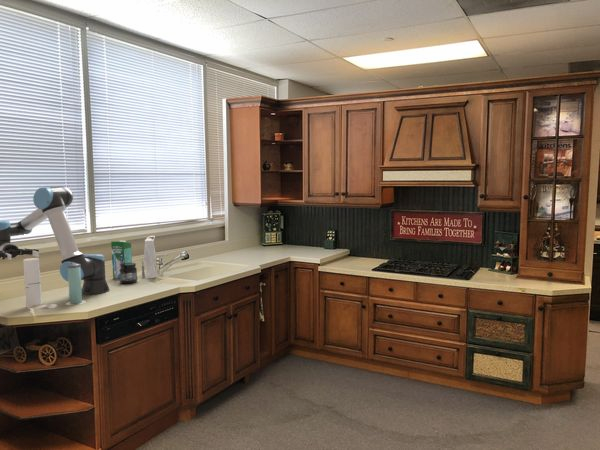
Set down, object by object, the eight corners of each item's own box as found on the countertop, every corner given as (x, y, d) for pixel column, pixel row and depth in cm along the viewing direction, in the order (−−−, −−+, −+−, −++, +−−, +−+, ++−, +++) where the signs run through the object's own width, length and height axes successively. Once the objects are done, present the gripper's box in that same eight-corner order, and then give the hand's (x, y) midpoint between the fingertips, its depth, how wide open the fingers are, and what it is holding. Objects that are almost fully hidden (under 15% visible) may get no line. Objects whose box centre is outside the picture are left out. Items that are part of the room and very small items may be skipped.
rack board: (84, 301, 265) (84, 298, 265) (88, 306, 255) (88, 303, 255) (35, 308, 253) (35, 305, 252) (37, 313, 243) (37, 310, 243)
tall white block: (38, 307, 254) (35, 260, 251) (24, 308, 253) (20, 260, 251) (44, 304, 261) (41, 257, 258) (30, 304, 260) (27, 258, 258)
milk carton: (132, 276, 333) (130, 239, 330) (125, 278, 324) (123, 241, 322) (120, 275, 335) (119, 239, 332) (113, 278, 326) (111, 241, 324)
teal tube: (81, 300, 262) (79, 263, 260) (83, 302, 257) (81, 265, 255) (68, 302, 259) (66, 264, 257) (70, 304, 253) (67, 266, 251)
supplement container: (128, 280, 320) (127, 262, 319) (141, 281, 316) (140, 263, 315) (116, 283, 311) (115, 264, 309) (129, 284, 306) (128, 265, 305)
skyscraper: (152, 276, 334) (150, 235, 331) (159, 277, 328) (157, 236, 326) (141, 278, 327) (139, 236, 324) (148, 279, 322) (146, 237, 319)
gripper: (33, 254, 284) (49, 260, 270) (-16, 259, 265) (-2, 265, 251) (33, 242, 283) (48, 246, 270) (-17, 246, 264) (-2, 251, 251)
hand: (24, 255), depth 260 cm, fingers open, 13 cm apart
